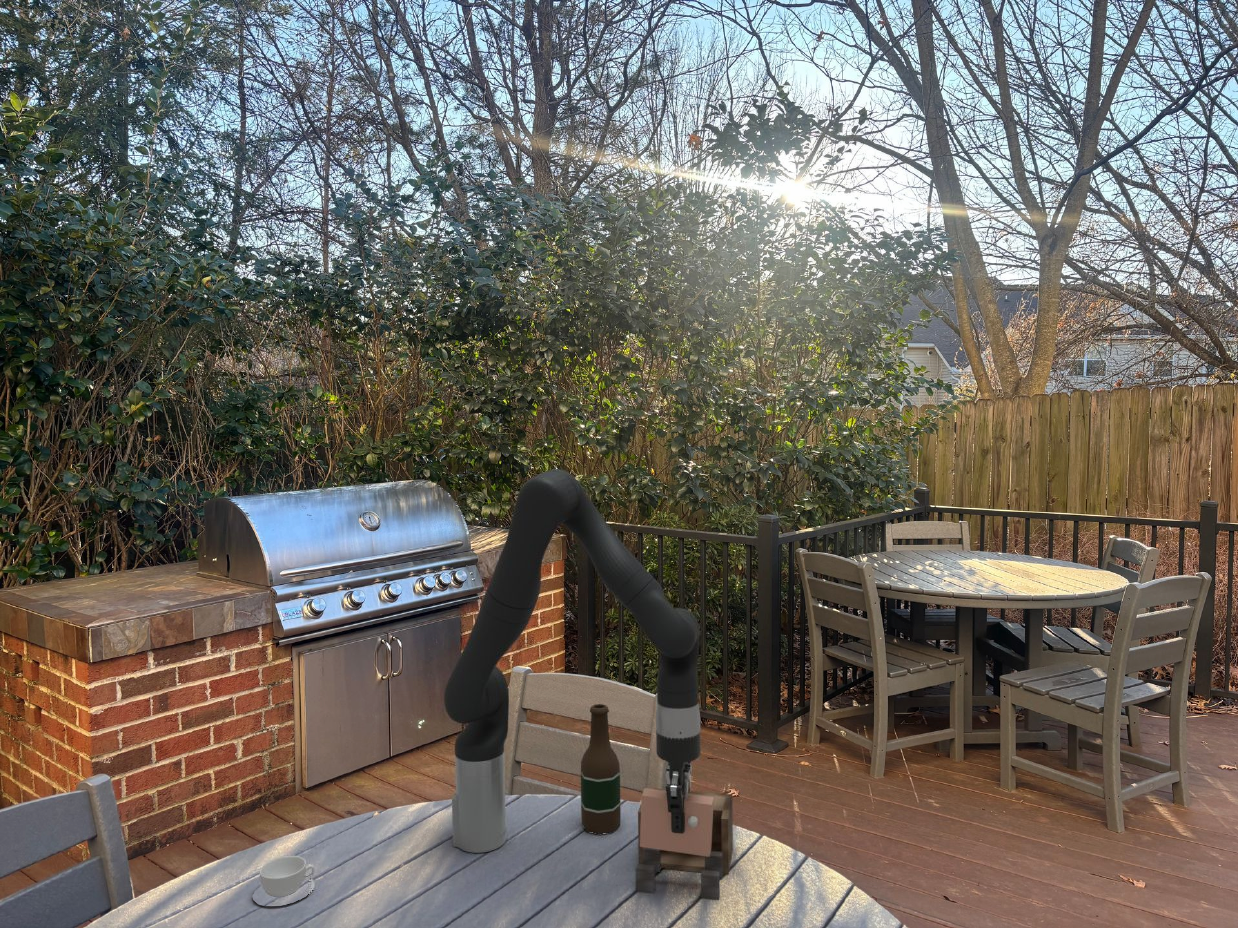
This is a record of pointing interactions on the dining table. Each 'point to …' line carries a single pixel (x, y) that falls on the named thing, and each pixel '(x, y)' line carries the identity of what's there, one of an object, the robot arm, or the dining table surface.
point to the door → (659, 824)
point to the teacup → (285, 875)
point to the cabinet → (708, 866)
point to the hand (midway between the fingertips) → (679, 826)
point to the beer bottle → (600, 778)
